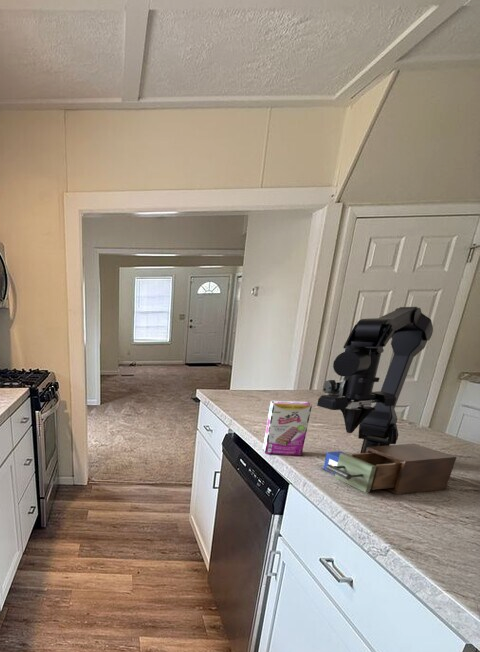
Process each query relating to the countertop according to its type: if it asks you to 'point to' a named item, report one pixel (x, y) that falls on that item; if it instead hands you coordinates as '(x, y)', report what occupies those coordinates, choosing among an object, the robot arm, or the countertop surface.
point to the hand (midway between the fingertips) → (349, 432)
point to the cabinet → (417, 467)
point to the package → (332, 459)
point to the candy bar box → (286, 427)
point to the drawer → (366, 471)
